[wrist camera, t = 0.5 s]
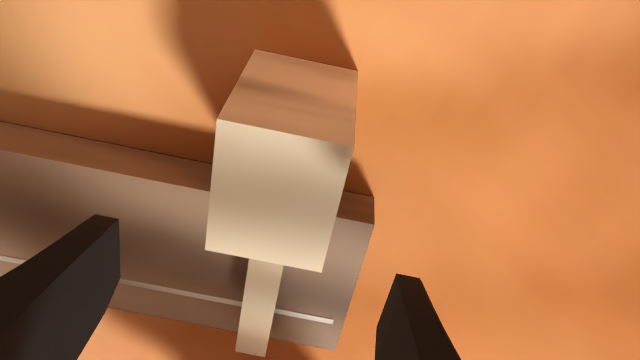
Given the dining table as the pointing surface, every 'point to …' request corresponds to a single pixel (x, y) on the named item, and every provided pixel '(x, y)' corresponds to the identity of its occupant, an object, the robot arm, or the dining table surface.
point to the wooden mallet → (279, 176)
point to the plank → (165, 234)
